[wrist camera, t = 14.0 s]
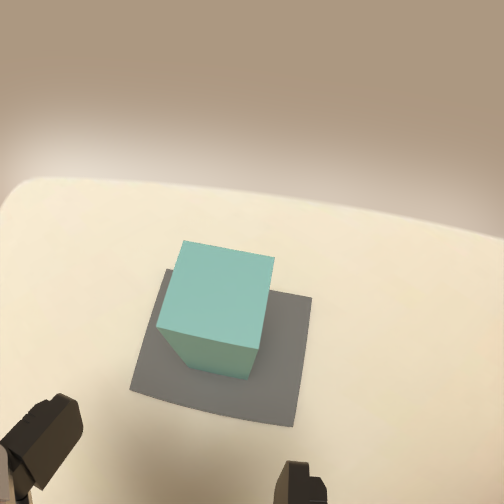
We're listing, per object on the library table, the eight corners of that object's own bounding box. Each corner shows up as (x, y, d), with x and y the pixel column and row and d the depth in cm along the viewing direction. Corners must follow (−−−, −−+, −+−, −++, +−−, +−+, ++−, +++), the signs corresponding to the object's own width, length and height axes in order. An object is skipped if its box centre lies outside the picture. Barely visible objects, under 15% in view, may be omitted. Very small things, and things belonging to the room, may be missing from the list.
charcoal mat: (310, 299, 29) (311, 297, 28) (291, 427, 23) (292, 427, 22) (167, 271, 29) (166, 268, 29) (131, 390, 23) (129, 389, 23)
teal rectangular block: (257, 325, 27) (274, 257, 16) (247, 380, 24) (258, 349, 14) (202, 314, 27) (183, 240, 17) (188, 367, 24) (155, 326, 14)
